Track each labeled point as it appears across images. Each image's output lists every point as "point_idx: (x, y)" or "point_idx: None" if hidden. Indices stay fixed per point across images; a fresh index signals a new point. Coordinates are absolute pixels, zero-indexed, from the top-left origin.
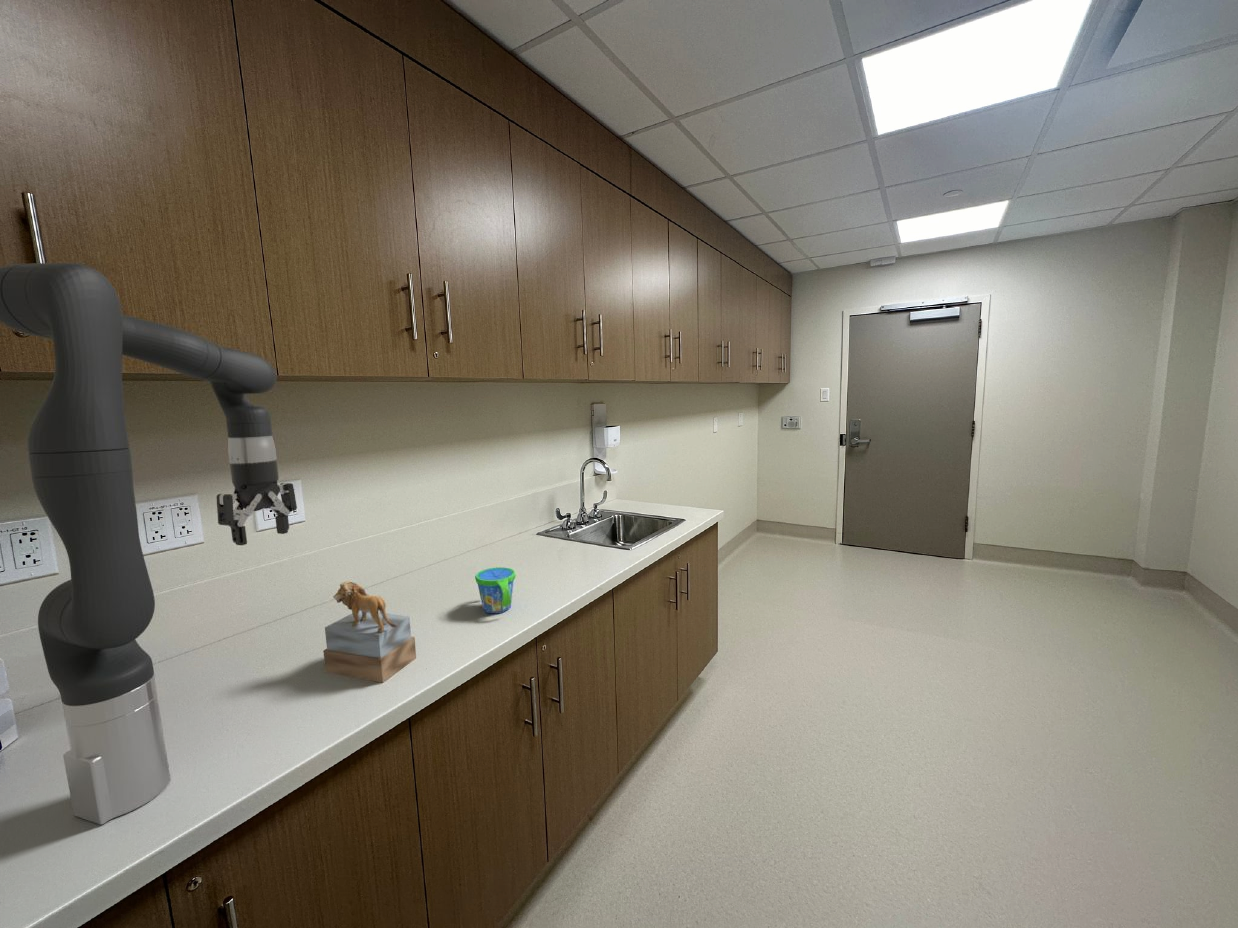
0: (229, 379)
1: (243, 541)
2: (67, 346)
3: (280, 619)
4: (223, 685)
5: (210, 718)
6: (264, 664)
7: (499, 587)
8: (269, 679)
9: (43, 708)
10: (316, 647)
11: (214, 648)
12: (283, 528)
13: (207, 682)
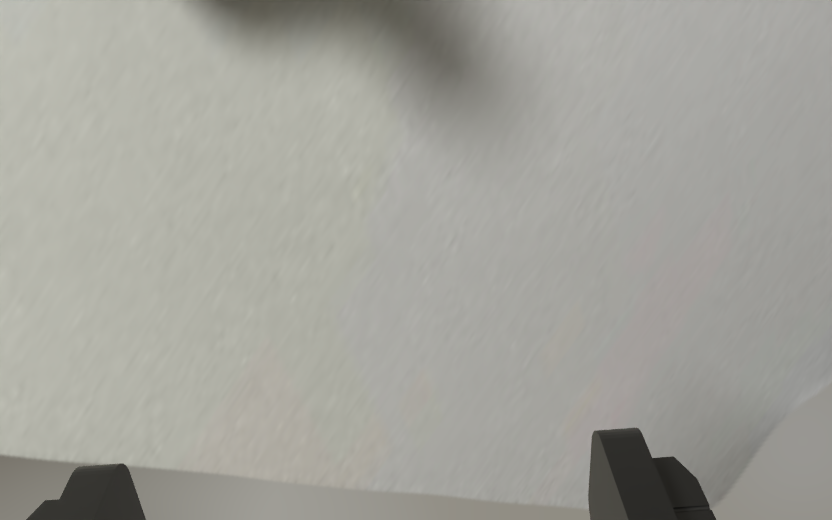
0: None
1: (643, 450)
2: None
3: (97, 462)
4: (483, 192)
5: (646, 18)
6: (335, 198)
7: None
8: (401, 71)
9: None
10: (159, 131)
11: (332, 451)
12: (105, 516)
13: (486, 261)
